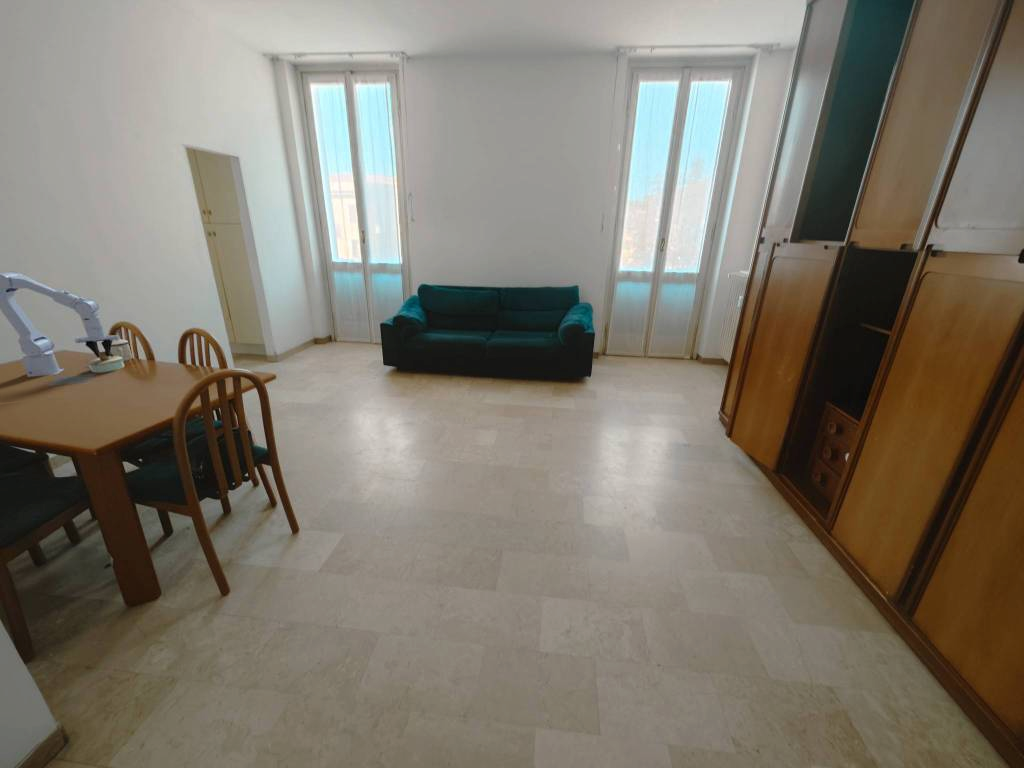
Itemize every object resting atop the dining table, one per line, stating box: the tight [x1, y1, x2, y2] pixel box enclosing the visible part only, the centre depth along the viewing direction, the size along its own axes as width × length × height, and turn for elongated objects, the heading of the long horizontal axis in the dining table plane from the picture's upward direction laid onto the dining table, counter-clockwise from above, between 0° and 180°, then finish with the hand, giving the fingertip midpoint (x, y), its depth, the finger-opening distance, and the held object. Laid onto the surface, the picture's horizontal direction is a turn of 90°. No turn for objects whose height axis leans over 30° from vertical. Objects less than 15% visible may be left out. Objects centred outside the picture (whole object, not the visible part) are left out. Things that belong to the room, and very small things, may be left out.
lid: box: [85, 350, 123, 366], centre depth 184 cm, size 12×12×4 cm
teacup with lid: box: [109, 338, 134, 362], centre depth 197 cm, size 12×9×12 cm
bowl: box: [88, 360, 125, 373], centre depth 186 cm, size 11×11×4 cm
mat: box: [46, 373, 97, 387], centre depth 172 cm, size 12×12×1 cm
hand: (104, 356), depth 184 cm, fingers closed on lid, 3 cm apart
